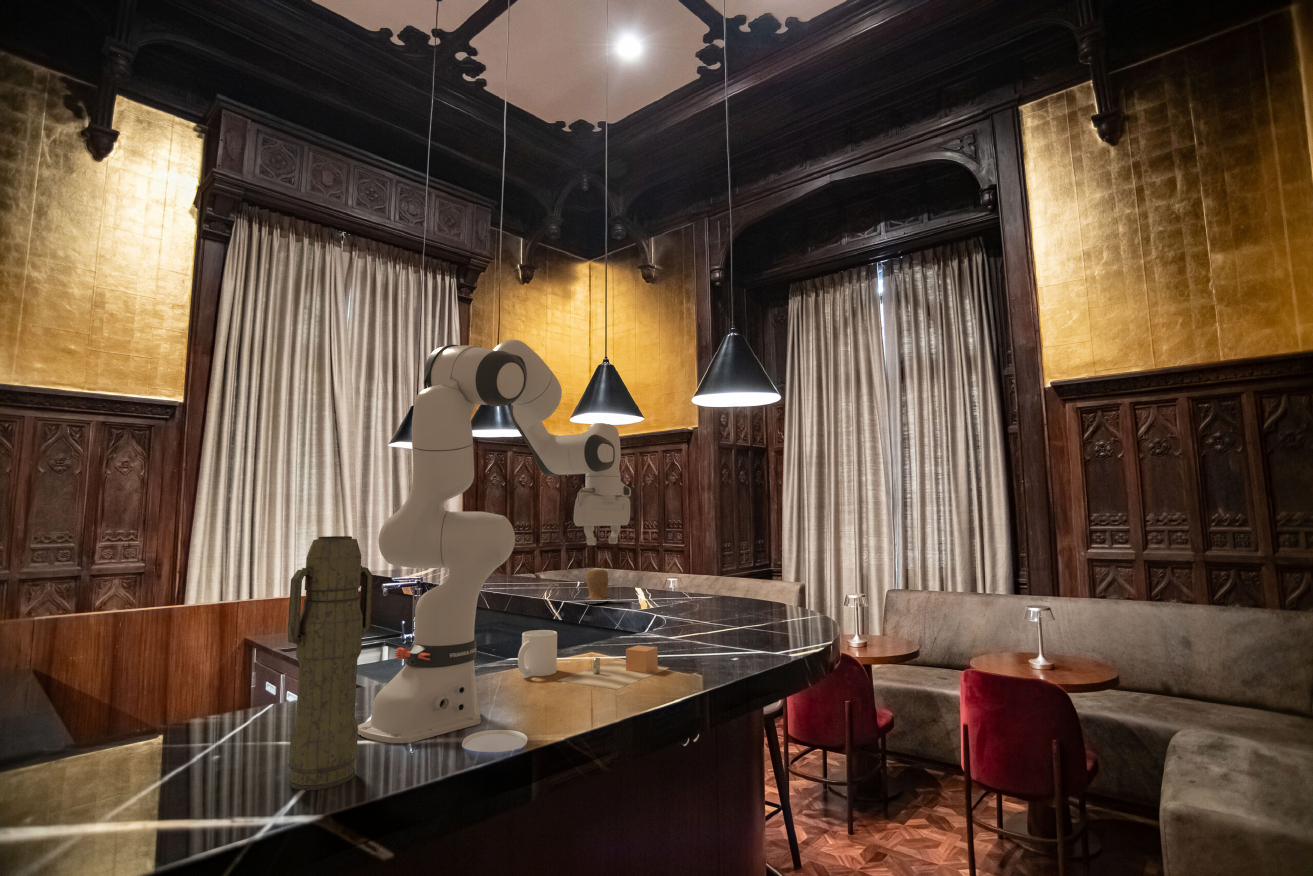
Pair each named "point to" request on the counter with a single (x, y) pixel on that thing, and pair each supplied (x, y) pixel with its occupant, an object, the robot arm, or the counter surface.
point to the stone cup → (597, 584)
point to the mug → (538, 653)
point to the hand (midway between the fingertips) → (602, 544)
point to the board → (610, 676)
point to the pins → (596, 665)
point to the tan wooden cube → (641, 659)
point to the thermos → (327, 661)
